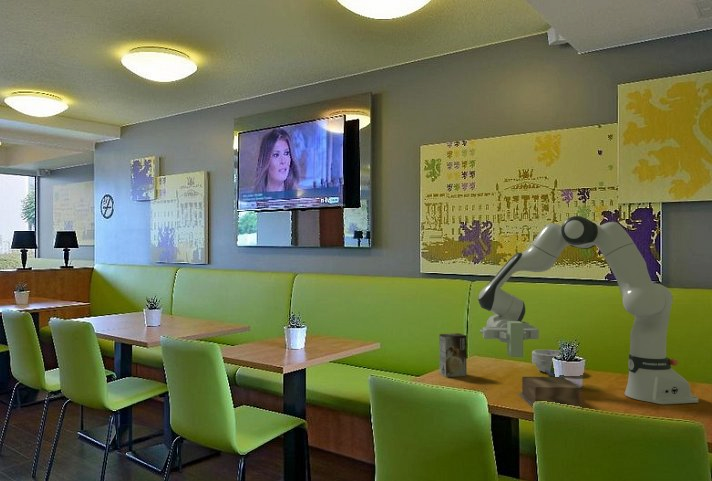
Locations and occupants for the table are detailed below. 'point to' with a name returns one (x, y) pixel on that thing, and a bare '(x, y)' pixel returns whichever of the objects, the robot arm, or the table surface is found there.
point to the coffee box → (452, 355)
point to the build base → (549, 390)
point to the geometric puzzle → (550, 371)
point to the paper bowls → (543, 358)
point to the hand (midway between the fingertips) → (515, 336)
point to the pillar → (515, 339)
